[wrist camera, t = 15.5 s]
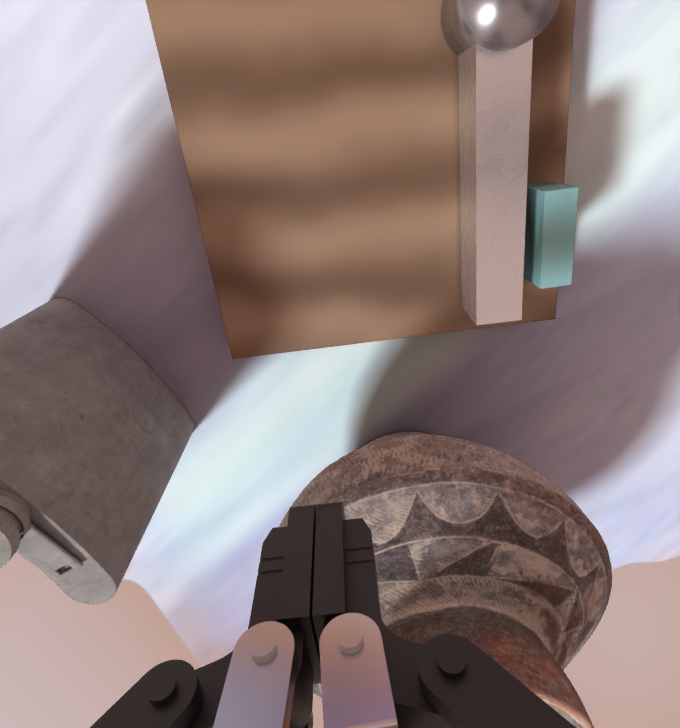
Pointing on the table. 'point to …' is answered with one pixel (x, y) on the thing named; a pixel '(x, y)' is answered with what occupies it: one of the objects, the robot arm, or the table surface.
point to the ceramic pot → (476, 554)
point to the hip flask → (81, 448)
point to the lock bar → (493, 145)
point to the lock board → (348, 166)
